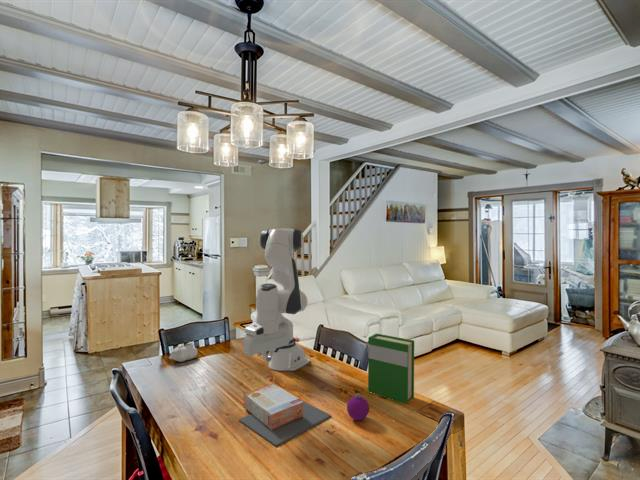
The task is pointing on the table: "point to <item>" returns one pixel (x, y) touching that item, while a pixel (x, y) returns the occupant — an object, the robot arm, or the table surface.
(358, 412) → the christmas ornament
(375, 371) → the hardback book
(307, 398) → the table surface
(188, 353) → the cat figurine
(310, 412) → the mat
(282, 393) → the cracker box
